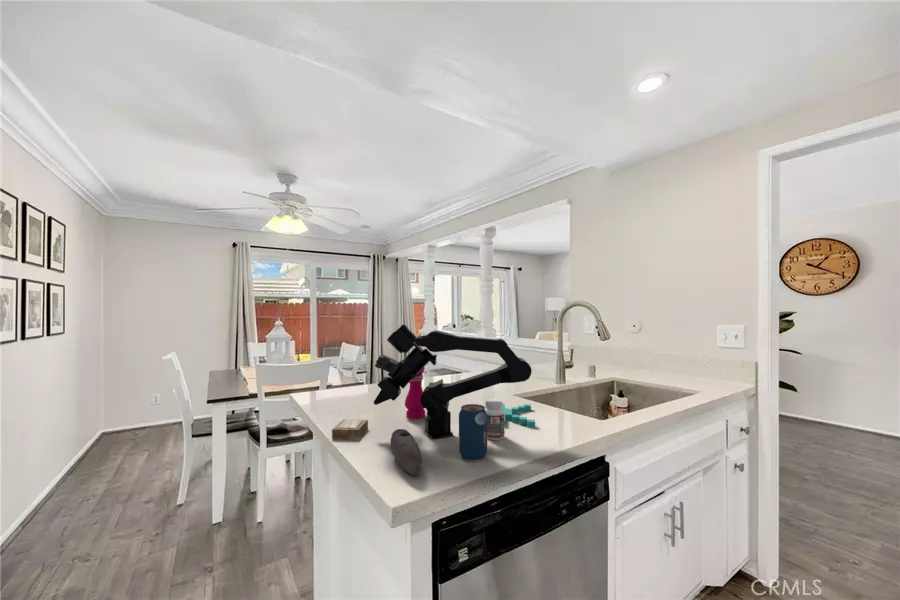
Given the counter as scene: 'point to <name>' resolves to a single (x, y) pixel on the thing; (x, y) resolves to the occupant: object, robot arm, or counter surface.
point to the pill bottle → (495, 419)
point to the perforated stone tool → (406, 451)
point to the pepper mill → (415, 398)
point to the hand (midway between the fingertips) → (374, 403)
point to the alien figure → (516, 418)
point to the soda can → (473, 432)
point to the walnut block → (349, 429)
